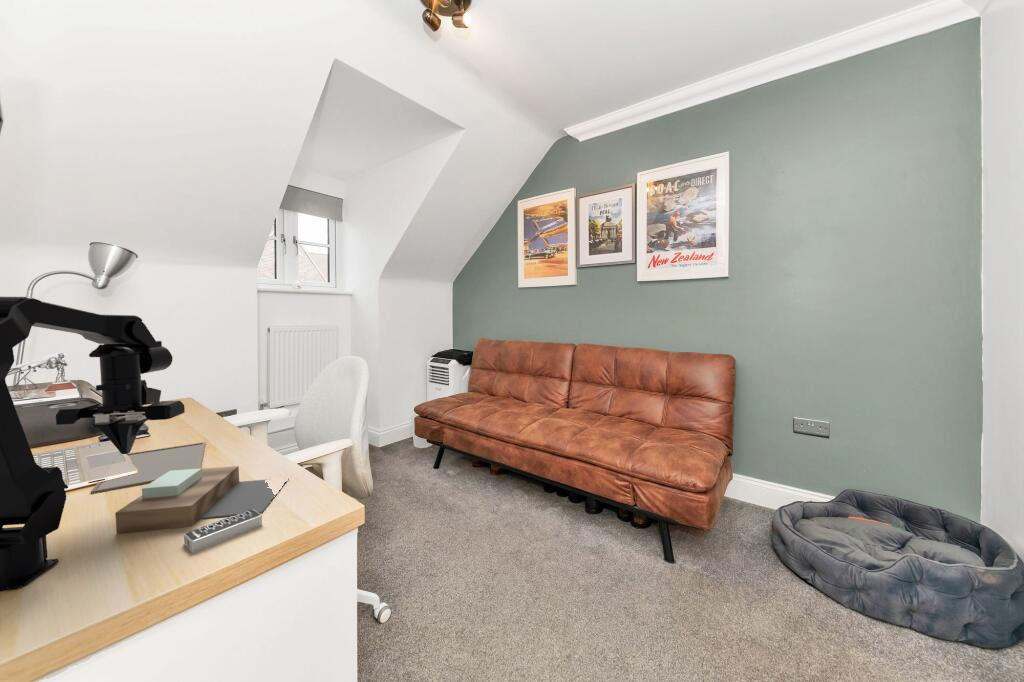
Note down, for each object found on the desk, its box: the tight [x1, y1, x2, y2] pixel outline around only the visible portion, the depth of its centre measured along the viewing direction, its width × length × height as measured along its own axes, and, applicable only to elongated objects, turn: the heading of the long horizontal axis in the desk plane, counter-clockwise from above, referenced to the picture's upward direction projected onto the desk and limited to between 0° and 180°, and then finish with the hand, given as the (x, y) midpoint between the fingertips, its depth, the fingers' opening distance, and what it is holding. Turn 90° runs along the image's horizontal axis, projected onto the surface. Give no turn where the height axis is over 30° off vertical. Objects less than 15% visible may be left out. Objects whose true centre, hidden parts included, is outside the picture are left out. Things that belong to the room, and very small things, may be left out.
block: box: [141, 467, 203, 498], centre depth 82 cm, size 9×6×2 cm, turn 13°
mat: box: [199, 479, 276, 520], centre depth 87 cm, size 17×11×1 cm, turn 13°
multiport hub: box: [183, 509, 263, 553], centre depth 72 cm, size 4×11×2 cm, turn 145°
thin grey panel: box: [90, 441, 207, 495], centre depth 105 cm, size 19×1×28 cm
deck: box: [114, 465, 240, 535], centre depth 83 cm, size 20×12×4 cm, turn 13°
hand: (125, 453), depth 80 cm, fingers closed
